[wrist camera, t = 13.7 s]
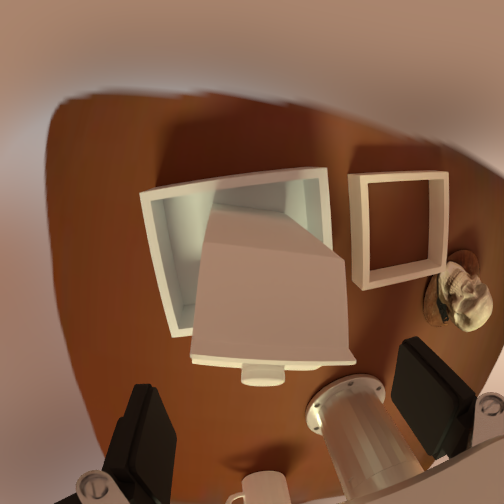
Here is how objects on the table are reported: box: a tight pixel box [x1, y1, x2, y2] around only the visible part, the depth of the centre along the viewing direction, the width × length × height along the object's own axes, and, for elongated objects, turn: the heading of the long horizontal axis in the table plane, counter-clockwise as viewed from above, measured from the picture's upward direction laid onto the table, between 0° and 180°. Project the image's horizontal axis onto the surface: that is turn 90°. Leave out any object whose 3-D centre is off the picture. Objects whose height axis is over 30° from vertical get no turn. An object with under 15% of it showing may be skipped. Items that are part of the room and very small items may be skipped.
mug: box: [225, 471, 291, 504], centre depth 39 cm, size 8×12×10 cm
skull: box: [423, 250, 493, 332], centre depth 34 cm, size 12×10×10 cm
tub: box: [140, 167, 333, 337], centre depth 28 cm, size 13×15×6 cm
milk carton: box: [190, 203, 356, 386], centre depth 21 cm, size 7×7×19 cm
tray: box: [348, 170, 449, 291], centre depth 30 cm, size 12×12×3 cm
